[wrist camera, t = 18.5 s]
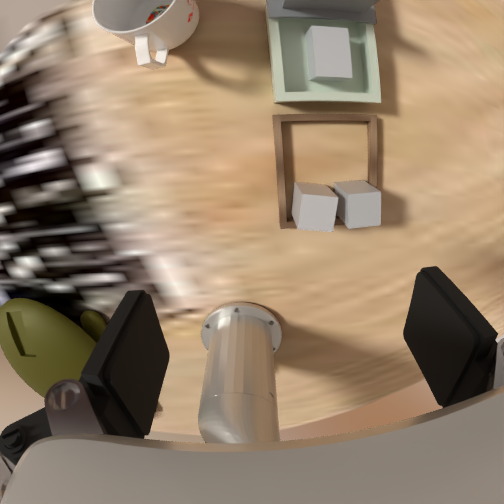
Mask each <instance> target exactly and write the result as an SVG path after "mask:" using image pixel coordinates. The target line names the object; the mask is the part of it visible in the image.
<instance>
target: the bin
mask: <svg viewBox="0 0 504 504" xmlns="http://www.w3.org/2000/svg"><path fill="white" fill-rule="evenodd" d="M265 16H266V25H267V34H268V43H269V53H270V63H271V74H272V85H273V97H274V103H286V102H352V103H381V90H380V77H379V66H378V57H377V48H376V40H375V33H374V26H373V24H367V23H359V22H350V21H339V20H326V19H299V18H283V19H269V18H268V9H267V4H266V12H265ZM311 26H327V27H339V28H348V33H349V42H350V52H351V63H352V76H353V78H351V79H348V80H346V81H343V82H338V81H309V73H308V61H307V49H306V39H305V34H306V33H307V31H308V30H309V28H310V27H311Z"/></svg>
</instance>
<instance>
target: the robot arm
mask: <svg viewBox="0 0 504 504" xmlns="http://www.w3.org/2000/svg"><path fill="white" fill-rule="evenodd" d="M403 335H404V339H405V341H406V343H407V345H408V347H409V349H410V350H411V352H412V354H413V356H414V358H415V360H416V362H417V363H418V365H419V367H420V369H421V371H422V373H423V375H424V377H425V379H426V381H427V383H428V385H429V387H430V389H431V391H432V393H433V395H434V397H435V399H436V401H437V403H438V404H439V405H440V406H442V407H443V408H442V409H439V410H436V411H433V412H430V413H427V414H424V415H421V416H417V417H413V418H410V419H406V420H402V421H399V422H395V423H391V424H387V425H383V426H378V427H373V428H369V429H364V430H359V431H354V432H348V433H343V434H337V435H331V436H323V437H316V438H308V439H300V440H289V441H280V434H279V422H278V408H277V394H276V380H275V367H274V353H275V352H276V351H277V349H278V348H279V346H280V344H281V341H282V330H281V326H280V323H279V321H278V320H277V318H276V317H275V316H274V315H273V314H272V313H271V312H270V311H268V310H267V309H265V308H263V307H261V306H259V305H256V304H252V303H245V302H235V303H229V304H225V305H223V306H220V307H218V308H216V309H214V310H213V311H212V312H211V313H210V314H208V316H207V317H206V318H205V320H204V322H203V325H202V330H201V338H202V342H203V344H204V346H205V348H206V349H207V350H208V355H207V361H206V368H205V374H204V381H203V387H202V394H201V400H200V407H199V414H198V426H199V430H200V433H201V436H202V438H203V439H204V441H205V443H191V442H173V441H160V440H149V439H144V436H145V435H148V434H149V433H150V429H151V425H152V422H153V418H154V414H155V410H156V406H157V402H158V399H159V395H160V391H161V388H162V384H163V380H164V377H165V373H166V370H167V366H168V363H169V350H168V347H167V344H166V341H165V338H164V336H163V333H162V330H161V327H160V323H159V320H158V317H157V314H156V311H155V308H154V304H153V301H152V298H151V296H150V294H146V292H145V291H144V290H134V291H128V292H127V293H126V294H125V296H124V298H123V299H122V301H121V303H120V304H119V306H118V308H117V309H116V311H115V313H114V314H113V316H112V318H111V320H110V321H109V323H108V325H107V326H106V328H105V330H104V332H103V333H102V335H101V337H100V339H99V341H98V342H97V344H96V346H95V348H94V350H93V351H92V353H91V355H90V357H89V359H88V361H87V363H86V364H85V366H84V368H83V370H82V372H81V377H80V379H79V381H78V380H75V379H64V380H60V381H58V382H57V383H55V384H53V385H52V386H51V387H50V388H49V390H48V391H47V393H46V395H45V399H44V402H45V407H44V408H42V409H41V410H38V411H36V412H34V413H32V414H31V415H28V416H26V417H24V418H22V419H20V420H19V421H16V422H14V423H12V424H10V425H9V426H7V427H6V428H5V429H4V430H3V431H2V433H1V435H0V504H504V338H503V339H501V340H500V341H499V342H498V343H497V342H496V341H495V339H496V337H497V335H498V333H497V332H496V331H495V330H494V328H493V327H492V326H491V325H490V324H489V322H488V321H487V320H486V319H485V318H484V316H483V315H482V314H481V313H480V312H479V311H478V310H477V308H476V307H475V306H474V305H473V304H472V303H471V302H470V301H469V299H468V298H467V297H466V296H465V295H464V294H463V293H462V292H461V291H460V290H459V289H458V288H457V286H456V285H455V284H454V283H453V282H452V281H451V280H450V279H449V278H448V277H447V276H446V275H445V274H444V273H443V272H442V271H441V270H440V269H439V268H438V267H437V266H433V267H425V268H422V269H421V271H420V272H419V273H418V274H417V276H416V280H415V285H414V290H413V294H412V299H411V303H410V307H409V311H408V315H407V319H406V323H405V327H404V331H403Z"/></svg>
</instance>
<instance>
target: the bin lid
mask: <svg viewBox="0 0 504 504" xmlns="http://www.w3.org/2000/svg"><path fill="white" fill-rule="evenodd" d="M266 1H267V9H268V18H269V19H283V18H299V19H326V20H339V21H350V22H359V23H367V24H374V25H375V24H376V23H377V20H376V14H375V9H374V4H376V3H377V2H378V1H379V0H266Z"/></svg>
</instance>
